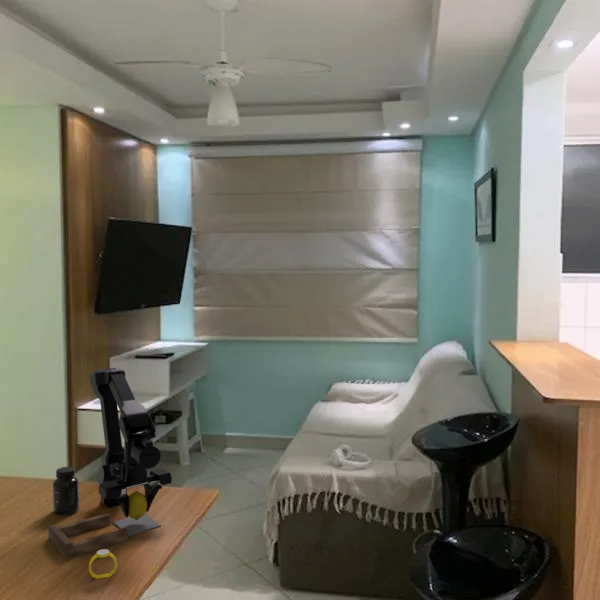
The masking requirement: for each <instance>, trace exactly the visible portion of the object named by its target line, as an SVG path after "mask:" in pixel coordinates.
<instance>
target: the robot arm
mask: <svg viewBox="0 0 600 600" xmlns="http://www.w3.org/2000/svg"><path fill="white" fill-rule="evenodd" d="M89 383H90V385H91V387H92V391H93V393H94V394H95V396H96V397H97V398H98V399H99V401H100V411H101V419H102V420H101V421H102V428H103V436H104V437H103V438H104V444H105V445H104V446H105V450H104V453H103V455H102V457H101V459H100V460H101V461H100V463H101V465H100V468H99V469H98V471H97V474H96V477H97V479H96V480H97V484H99V486H98V489H97V490H98V495H100V500H99V501H100V503H102V504H103V505H104V506H105V507H107V508H108V509H111V508H114V507H118V506H120V507H121V510H122V513H123V516H124V517H125V518H129V515H128V514H129V495H130V494H128V490H129V489H132V488H135V487H140V486H143V488H144V496H145V497H146V500H147V510H146V513H148V512H149V511H150V508H151V506H152V504H153V501H154V500H155V497H156V496H157V494H158V493H159V491H160V490H162V488H163V486H165V485H166V486H167V485H169V484H172V483H173V476H172V473H171V472H170V471H169V470H166V469H164V468H162V467H161V468H157V469H153V470H151V471H149V475H148V470H149V469H152V468H154V467H156V466H157V465H158V464H159V462H160V461H161V456H162V455H161V451H160V450H159V448H157V447H156V446H155V445H154V442H153V441H152V440H151V439H155V438H156V432H157V431H156V427H155V424H154V422H153V418H152V417H151V414H150V413H149V412H148V411H147V409H146V406H145V405H143V404H142V403H139V402H137V400H136V397H135V395H134V394H133V392H132V389H131V387H130V385H129V383H128V380H127V379H126V372H125V370H124V369H122V368H116V367H112V368H111V367H110V368H100V369H94V371H93V373H91V374H90V375H89ZM119 413H120V414H119ZM122 437H123V440H124V447H123V443H122Z"/></svg>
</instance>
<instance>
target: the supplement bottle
mask: <svg viewBox="0 0 600 600" xmlns="http://www.w3.org/2000/svg"><path fill="white" fill-rule="evenodd" d="M75 475H76V473H75V467H74V466H62V467H59V468H57V469H56V471H55V477H56V478H55V480H53V482H52V500H53V501H52V503H53V504H52V509H53V513H54V514H55V515H57V516H69V514H70V515H72V514H75V513H77V512H78V511H79V509H80V491H79V490H80V487H79V485H80V483H79V479H78V478H77V477H76V476H75Z"/></svg>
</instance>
